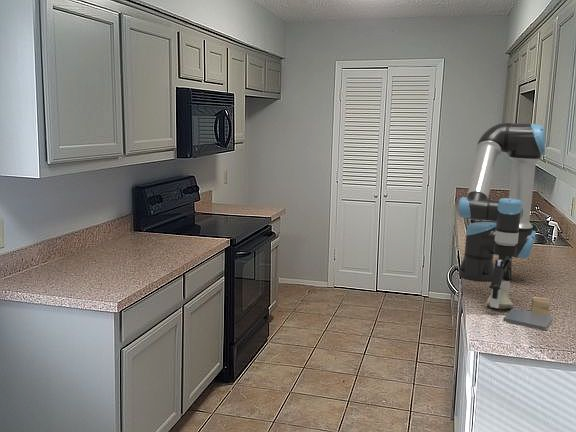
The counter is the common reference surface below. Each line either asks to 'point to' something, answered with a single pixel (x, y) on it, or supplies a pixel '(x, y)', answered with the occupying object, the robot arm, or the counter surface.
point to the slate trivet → (528, 319)
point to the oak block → (540, 305)
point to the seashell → (502, 300)
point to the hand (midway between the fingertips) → (499, 302)
